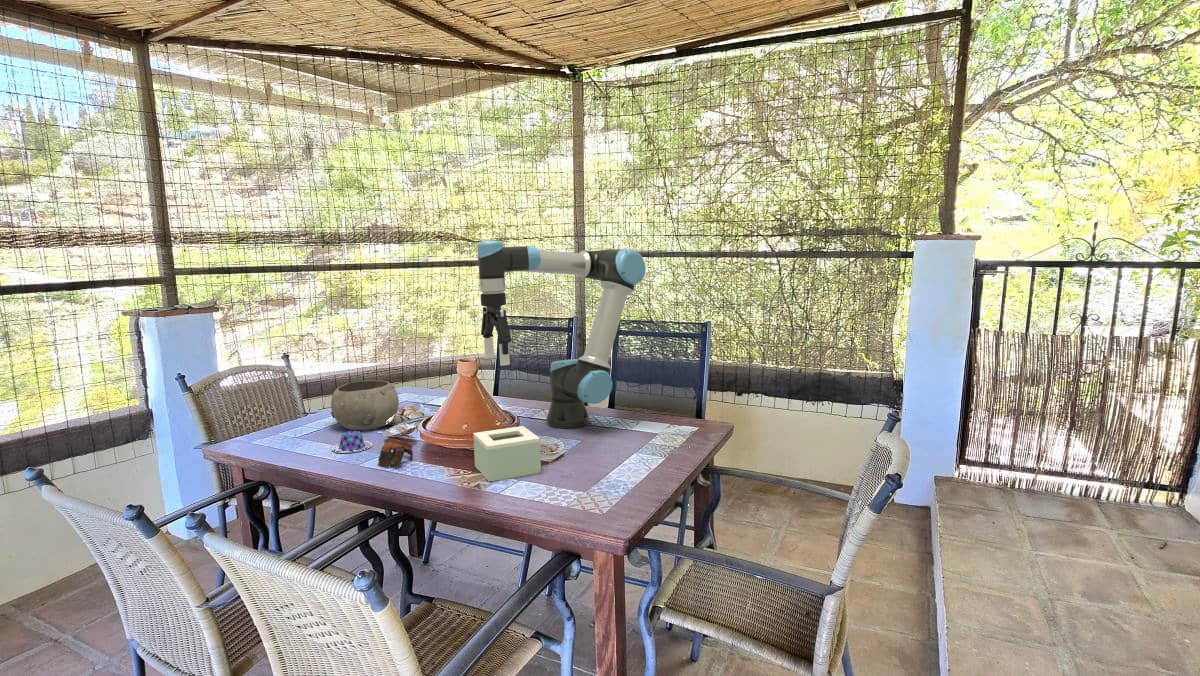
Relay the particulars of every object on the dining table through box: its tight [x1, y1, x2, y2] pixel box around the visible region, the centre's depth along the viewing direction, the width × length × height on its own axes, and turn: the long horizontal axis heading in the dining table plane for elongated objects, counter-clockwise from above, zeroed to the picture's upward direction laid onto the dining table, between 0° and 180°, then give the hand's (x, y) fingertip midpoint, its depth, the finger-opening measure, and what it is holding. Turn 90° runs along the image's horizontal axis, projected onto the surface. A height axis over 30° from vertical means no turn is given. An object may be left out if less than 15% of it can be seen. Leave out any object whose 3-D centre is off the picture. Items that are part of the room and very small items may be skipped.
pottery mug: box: [377, 438, 414, 467], centre depth 180 cm, size 12×10×8 cm
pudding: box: [331, 430, 373, 454], centre depth 195 cm, size 12×12×5 cm
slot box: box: [472, 425, 542, 483], centre depth 173 cm, size 15×14×10 cm
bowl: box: [330, 379, 400, 431], centre depth 220 cm, size 23×23×15 cm
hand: (497, 361), depth 187 cm, fingers open, 13 cm apart
